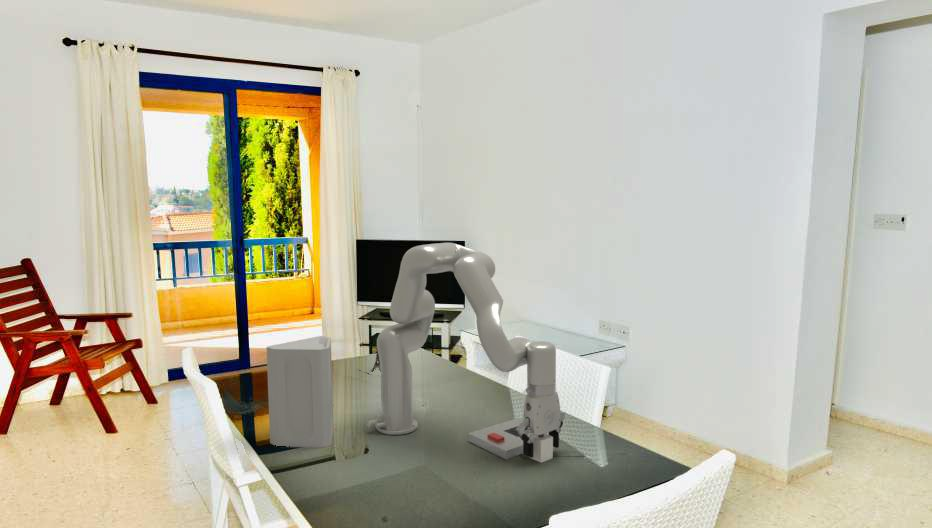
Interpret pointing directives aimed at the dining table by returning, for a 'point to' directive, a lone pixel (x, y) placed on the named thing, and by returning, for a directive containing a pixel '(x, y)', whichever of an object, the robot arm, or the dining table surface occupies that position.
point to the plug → (542, 448)
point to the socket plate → (502, 446)
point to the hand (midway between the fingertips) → (541, 451)
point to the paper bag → (300, 393)
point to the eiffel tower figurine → (376, 365)
